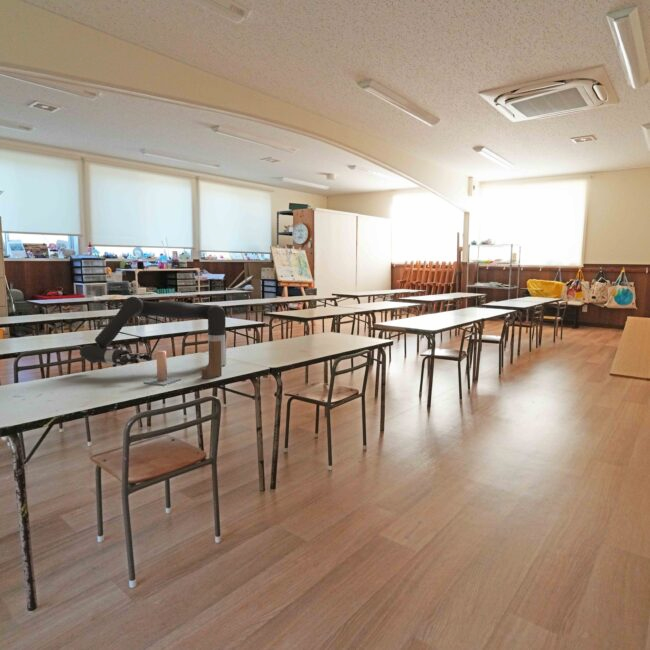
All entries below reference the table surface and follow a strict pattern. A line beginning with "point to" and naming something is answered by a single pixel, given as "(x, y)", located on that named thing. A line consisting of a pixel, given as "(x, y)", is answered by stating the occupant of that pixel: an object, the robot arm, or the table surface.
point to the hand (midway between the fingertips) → (144, 359)
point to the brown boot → (213, 360)
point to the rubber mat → (155, 382)
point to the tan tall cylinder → (161, 365)
